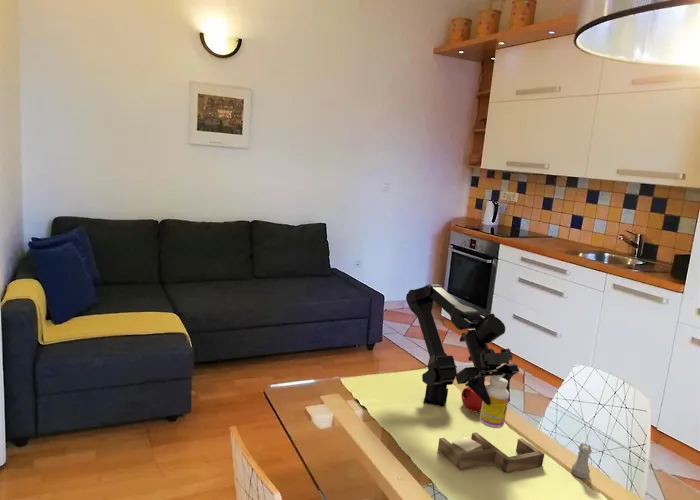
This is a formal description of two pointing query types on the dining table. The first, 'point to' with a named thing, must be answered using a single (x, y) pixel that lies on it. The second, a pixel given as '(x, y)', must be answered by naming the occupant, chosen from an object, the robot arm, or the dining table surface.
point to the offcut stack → (467, 445)
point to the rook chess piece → (582, 462)
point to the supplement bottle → (495, 403)
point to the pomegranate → (471, 400)
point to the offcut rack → (492, 456)
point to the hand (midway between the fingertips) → (498, 403)
